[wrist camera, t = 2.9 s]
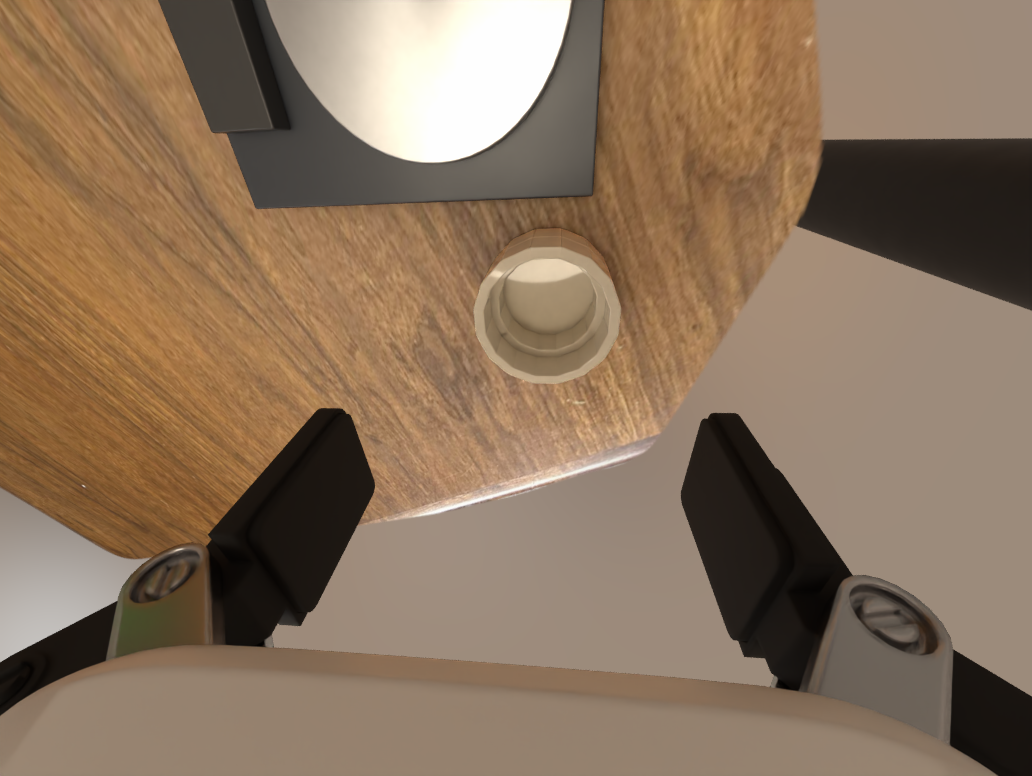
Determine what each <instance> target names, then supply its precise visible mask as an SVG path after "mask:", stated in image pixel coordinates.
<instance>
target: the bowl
mask: <svg viewBox="0 0 1032 776" xmlns="http://www.w3.org/2000/svg"><path fill="white" fill-rule="evenodd" d="M473 313H474V322H475V331H476V335H477V338H478V340H479V342H480V343H481V345H482V347H483V349H484V351H485V352H486V354H487V356H488V358H489V359H490V360H491V361H493V362H494V363H495V364H496V365H498V366H499V367H500V368H501V369H502V370H504V371H505V372H506V373H507V374H509V375H511V376H513V377H516V378H519V379H522V380H524V381H527V382H530V383H536V384H559V383H563V382H566V381H569V380H572V379H575V378H578V377H581V376H583V375H585V374H587V373H588V372H589V371H590V370H592V369H593V368H594V367H595V366H597V365H598V364H599V363H601V362H602V361H603V360H604V359H605V358H606V356H607V355H608V353H609V351H610V349H611V348H612V346H613V344H614V342H615V341H616V339H617V337H618V335H619V327H620V318H621V305H620V302H619V299H618V296H617V293H616V290H615V287H614V284H613V281H612V278H611V276H610V273H609V270H608V268H607V265H606V262H605V260H604V258H603V256H602V255H601V254H600V253H599V252H598V251H597V249H596V248H595V247H594V246H593V245H592V244H591V243H590V242H589V241H588V240H587V239H585V238H584V237H582V236H579V235H577V234H574V233H572V232H570V231H567V230H565V229H561V228H548V229H534V230H531V231H529V232H527V233H525V234H523V235H521V236H519V237H517V238H515V239H513V240H511V241H510V242H509V243H508V244H507V245H506V247H505V248H504V249H503V250H502V251H501V252H500V253H499V255H498V256H497V257H496V258H495V260H494V261H493V263H492V265H491V267H490V269H489V270H488V272H487V274H486V276H485V278H484V279H483V281H482V283H481V285H480V289H479V292H478V295H477V298H476V301H475V305H474V308H473Z"/></svg>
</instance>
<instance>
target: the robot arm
mask: <svg viewBox="0 0 1032 776" xmlns="http://www.w3.org/2000/svg"><path fill="white" fill-rule="evenodd" d="M374 489H375V482H374V479H373V476H372V473H371V470H370V467H369V465H368V462H367V459H366V456H365V454H364V451H363V448H362V445H361V442H360V440H359V437H358V434H357V431H356V428H355V426H354V423H353V420H352V418H351V416H350V415H349V414H346V413H345V411H344V410H343V409H340V408H321V409H318V410H317V411H316V412H315V413H314V414H313V415H312V417H311V418H310V419H309V420H308V421H307V422H306V423H305V425H304V426H303V427H302V428H301V429H300V430H299V431H298V433H297V434H296V435H295V436H294V437H293V438H292V439H291V441H290V442H289V443H288V444H287V445H286V446H285V447H284V448H283V450H282V451H281V452H280V453H279V454H278V455H277V456H276V458H275V459H274V460H273V461H272V462H271V463H270V464H269V466H268V467H267V468H266V469H265V470H264V471H263V472H262V474H261V475H260V476H259V477H258V478H257V479H256V480H255V482H254V483H253V484H252V485H251V486H250V487H249V488H248V490H247V491H246V492H245V493H244V494H243V495H242V496H241V498H240V499H239V500H238V501H237V502H236V503H235V504H234V506H233V507H232V508H231V509H230V510H229V511H228V512H227V514H226V515H225V516H224V517H223V518H222V519H221V520H220V522H219V523H218V524H217V525H216V526H215V527H214V528H213V530H212V531H211V532H210V533H209V534H208V535H209V537H210V538H211V539H212V540H211V541H210V542H209V544H208V545H207V546H206V547H205V546H203V545H202V544H200V543H193V542H191V543H185V544H180V545H177V546H174V547H171V548H168V549H166V550H164V551H162V552H161V553H159V554H157V555H155V556H153V557H152V558H151V559H149V560H148V561H146V562H145V563H144V564H142V565H141V566H140V567H139V568H138V569H137V570H136V571H135V572H134V573H133V574H132V575H131V576H130V577H129V578H128V580H127V581H126V582H125V584H124V585H123V586H122V589H121V591H120V594H119V596H118V601H116V602H114V603H113V604H111V605H109V606H107V607H105V608H103V609H101V610H99V611H97V612H95V613H93V614H91V615H89V616H87V617H85V618H83V619H81V620H79V621H78V622H76V623H74V624H72V625H70V626H68V627H66V628H64V629H62V630H60V631H58V632H56V633H54V634H52V635H50V636H48V637H47V638H45V639H43V640H41V641H39V642H37V643H35V644H33V645H31V646H29V647H27V648H25V649H23V650H21V651H19V652H17V653H16V654H14V655H12V656H10V657H8V658H7V659H5V660H3V661H2V662H0V776H1032V696H1030V695H1028V694H1026V693H1025V692H1023V691H1021V690H1020V689H1018V688H1017V687H1015V686H1013V685H1012V684H1010V683H1008V682H1007V681H1005V680H1003V679H1002V678H1000V677H998V676H997V675H995V674H993V673H992V672H990V671H988V670H987V669H985V668H983V667H982V666H980V665H978V664H977V663H975V662H973V661H972V660H970V659H968V658H967V657H965V656H963V655H962V654H960V653H958V652H957V651H955V650H953V647H952V642H951V638H950V636H949V634H948V632H947V630H946V629H945V627H944V625H943V624H942V622H941V621H940V620H939V619H938V618H937V616H936V615H935V614H934V613H933V612H932V611H931V610H930V609H929V608H928V607H927V606H926V605H925V604H923V603H922V602H921V601H920V600H918V599H917V598H916V597H915V596H913V595H912V594H910V593H909V592H907V591H905V590H903V589H902V588H900V587H899V586H897V585H895V584H892V583H890V582H887V581H885V580H882V579H880V578H876V577H871V576H866V575H857V576H856V575H855V576H853V575H852V574H851V572H850V571H849V569H848V568H847V566H846V565H845V563H844V562H843V561H842V559H841V558H840V556H839V555H838V553H837V552H836V550H835V549H834V548H833V546H832V545H831V543H830V542H829V540H828V539H827V538H826V536H825V535H824V533H823V532H822V530H821V529H820V527H819V526H818V525H817V523H816V522H815V520H814V519H813V517H812V516H811V514H810V513H809V512H808V510H807V509H806V507H805V506H804V504H803V503H802V502H801V500H800V499H799V497H798V496H797V494H796V493H795V491H794V490H793V488H792V487H791V485H790V484H789V483H788V481H787V480H786V478H785V477H784V475H783V474H782V473H781V472H780V471H779V470H778V469H777V468H775V467H774V465H773V464H772V463H771V461H770V460H769V458H768V457H767V455H766V454H765V452H764V451H763V449H762V448H761V446H760V445H759V443H758V442H757V441H756V439H755V438H754V436H753V435H752V433H751V432H750V430H749V429H748V427H747V426H746V425H745V423H744V422H743V420H742V419H741V417H740V416H739V415H738V414H736V413H712V414H710V415H709V417H708V419H703V420H702V421H701V423H700V427H699V430H698V434H697V437H696V441H695V444H694V448H693V451H692V455H691V458H690V462H689V466H688V469H687V473H686V476H685V480H684V483H683V487H682V490H681V501H682V506H683V508H684V511H685V514H686V517H687V520H688V522H689V525H690V528H691V531H692V534H693V536H694V539H695V542H696V544H697V547H698V550H699V553H700V556H701V559H702V561H703V564H704V567H705V570H706V573H707V575H708V578H709V581H710V584H711V587H712V589H713V592H714V595H715V598H716V601H717V603H718V606H719V609H720V612H721V615H722V617H723V620H724V623H725V626H726V628H727V631H728V633H729V635H730V637H731V638H732V639H733V640H737V641H739V644H740V647H741V650H742V652H743V655H744V657H754V658H765V659H766V662H767V664H768V667H769V669H770V671H771V673H772V674H773V675H774V677H773V680H772V683H771V686H770V687H766V686H757V685H747V684H737V683H727V682H717V681H706V680H696V679H685V678H675V677H664V676H650V675H639V674H626V673H614V672H601V671H589V670H575V669H563V668H552V667H551V668H550V667H538V666H525V665H512V664H499V663H486V662H472V661H459V660H445V659H433V658H418V657H406V656H391V655H376V654H362V653H348V652H334V651H320V650H304V649H290V648H274V646H273V639H272V632H273V631H274V629H275V627H276V625H277V624H280V625H292V626H301V624H302V622H303V621H304V618H305V617H306V615H307V613H308V612H311V611H312V610H313V609H314V608H315V607H316V605H317V604H318V601H319V600H320V598H321V596H322V594H323V592H324V590H325V588H326V586H327V584H328V582H329V580H330V578H331V576H332V574H333V572H334V570H335V568H336V566H337V564H338V562H339V560H340V558H341V556H342V554H343V552H344V551H345V548H346V547H347V545H348V542H349V541H350V539H351V537H352V535H353V533H354V531H355V529H356V527H357V525H358V523H359V521H360V519H361V517H362V515H363V513H364V511H365V509H366V507H367V505H368V503H369V501H370V499H371V497H372V495H373V493H374Z"/></svg>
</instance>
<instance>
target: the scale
mask: <svg viewBox="0 0 1032 776" xmlns="http://www.w3.org/2000/svg"><path fill="white" fill-rule="evenodd" d="M158 1H159V3H160V6H161V8H162V11H163V13H164V16H165V18H166V21H167V23H168V26H169V28H170V31H171V33H172V36H173V38H174V40H175V43H176V45H177V48H178V50H179V53H180V55H181V58H182V60H183V63H184V65H185V68H186V70H187V73H188V75H189V78H190V80H191V83H192V85H193V87H194V90H195V92H196V95H197V97H198V100H199V102H200V105H201V107H202V110H203V112H204V115H205V117H206V120H207V122H208V125H209V127H210V130H211V132H213V133H227V135H228V138H229V140H230V143H231V146H232V148H233V151H234V153H235V156H236V159H237V161H238V164H239V166H240V169H241V171H242V174H243V177H244V179H245V182H246V184H247V187H248V190H249V192H250V195H251V197H252V200H253V203H254V205H255V207H256V208H257V209H271V208H298V207H324V206H350V205H376V204H402V203H428V202H455V201H481V200H507V199H533V198H559V197H586V196H592V195H593V187H594V170H595V153H596V137H597V120H598V103H599V87H600V70H601V53H602V36H603V20H604V3H605V0H158Z"/></svg>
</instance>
